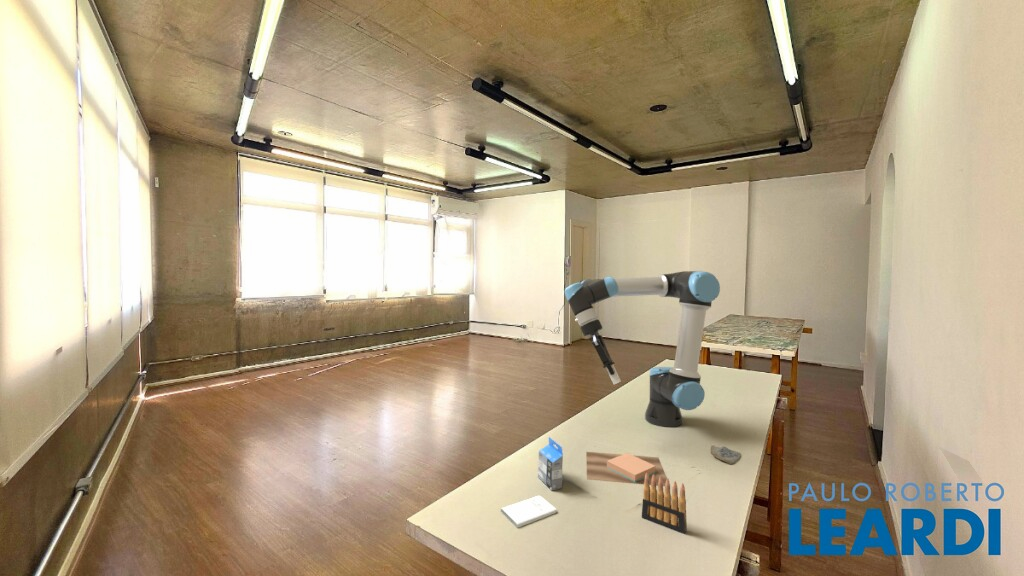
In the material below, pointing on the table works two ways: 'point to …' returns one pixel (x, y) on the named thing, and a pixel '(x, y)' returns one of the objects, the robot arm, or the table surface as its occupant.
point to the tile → (631, 467)
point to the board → (601, 472)
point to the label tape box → (551, 465)
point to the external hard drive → (528, 511)
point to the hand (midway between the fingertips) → (617, 382)
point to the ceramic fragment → (725, 454)
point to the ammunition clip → (664, 505)
